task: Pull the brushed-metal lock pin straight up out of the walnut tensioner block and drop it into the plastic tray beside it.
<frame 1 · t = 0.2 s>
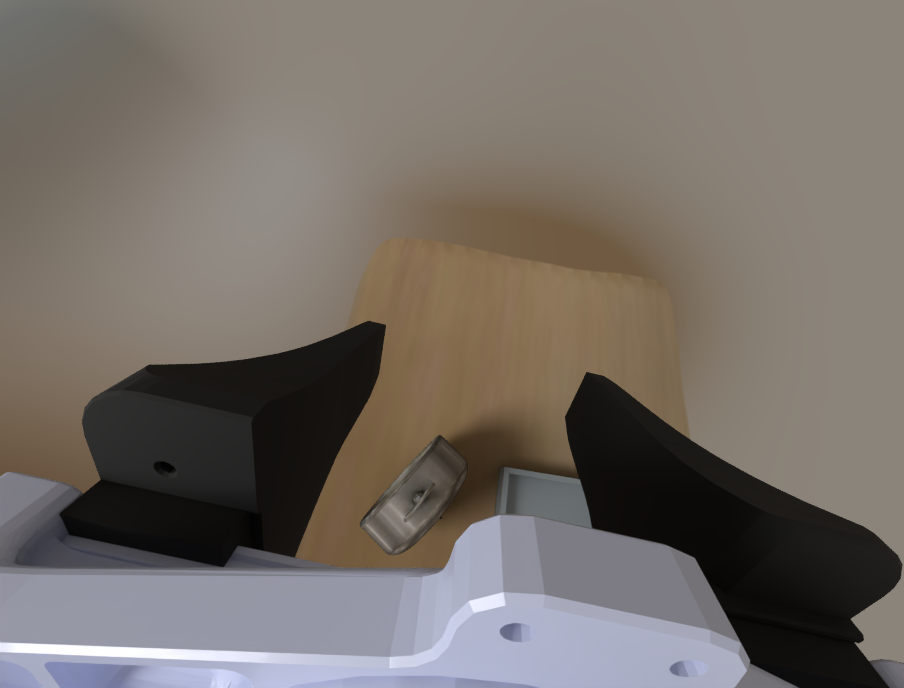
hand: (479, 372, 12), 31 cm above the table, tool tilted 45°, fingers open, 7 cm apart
tray: (545, 525, 39), on the table
alarm clock: (418, 489, 40), on the table
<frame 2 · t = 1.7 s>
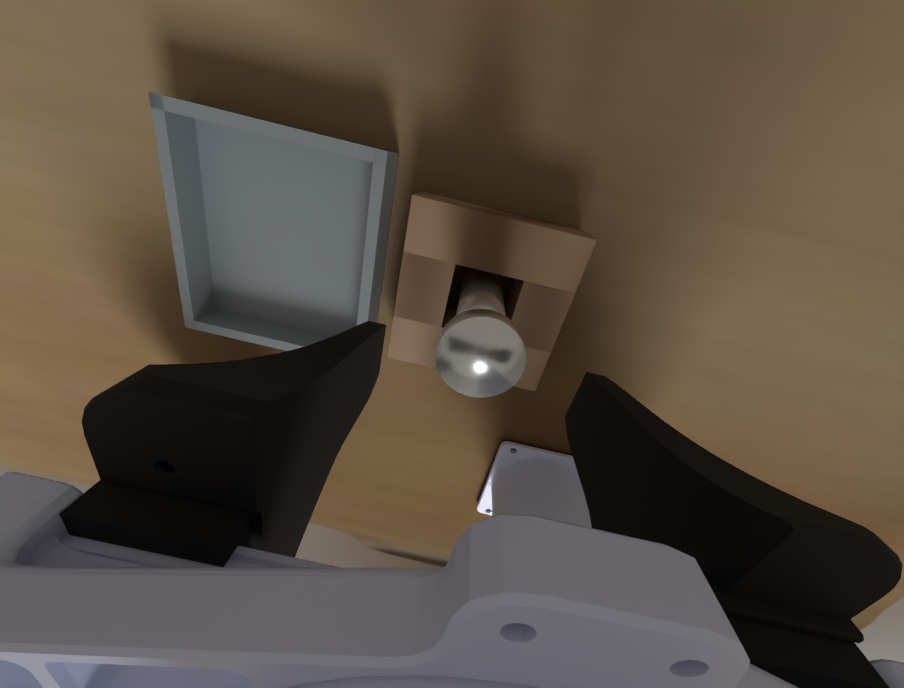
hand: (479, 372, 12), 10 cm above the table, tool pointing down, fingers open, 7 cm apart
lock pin: (480, 315, 17), in the tensioner block
tray: (294, 242, 21), on the table
tensioner block: (481, 287, 21), on the table
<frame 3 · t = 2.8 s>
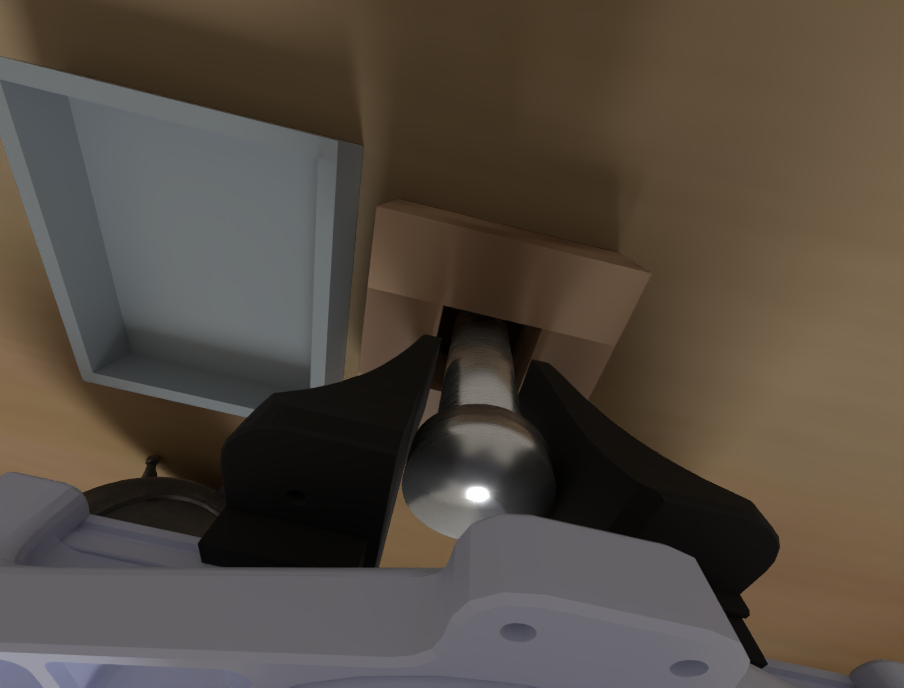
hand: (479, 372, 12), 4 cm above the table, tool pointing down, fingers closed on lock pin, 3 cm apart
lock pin: (479, 381, 12), in the tensioner block, touching gripper
tray: (228, 267, 15), on the table
alarm clock: (225, 484, 22), on the table
tensioner block: (480, 327, 16), on the table
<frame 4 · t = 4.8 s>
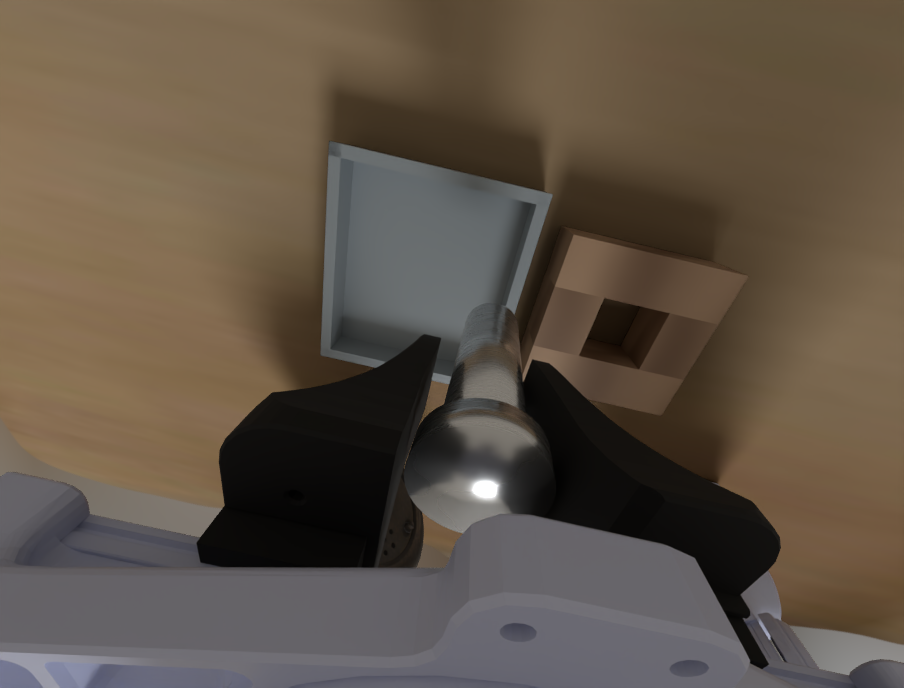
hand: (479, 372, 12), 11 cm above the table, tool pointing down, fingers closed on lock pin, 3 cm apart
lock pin: (486, 379, 12), point 11 cm above the table, touching gripper
tray: (427, 273, 21), on the table
alarm clock: (377, 442, 28), on the table
tensioner block: (605, 315, 22), on the table
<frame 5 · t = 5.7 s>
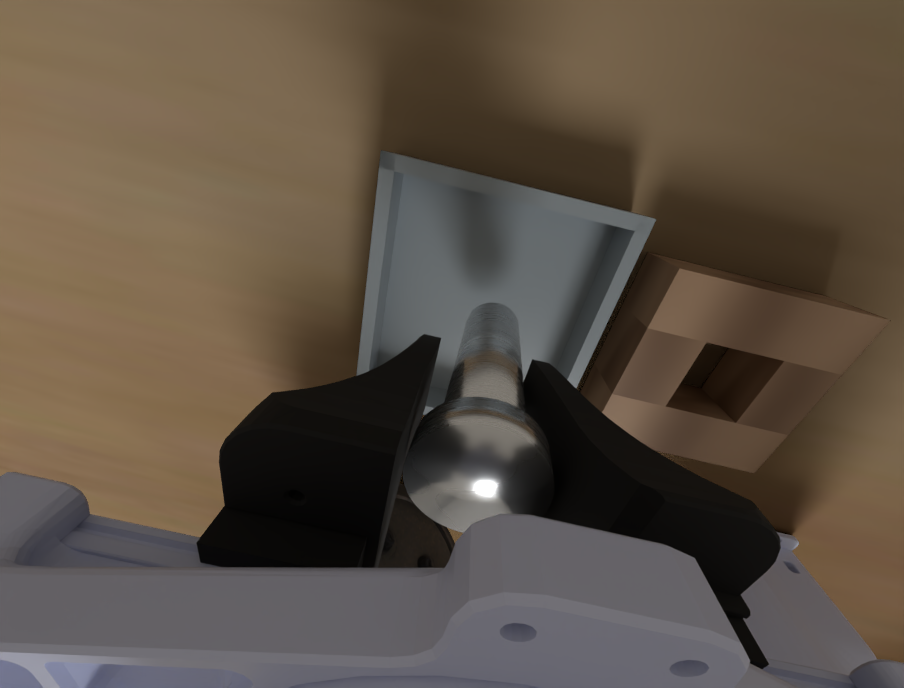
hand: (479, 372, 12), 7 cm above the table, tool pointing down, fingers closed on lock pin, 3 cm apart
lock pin: (486, 379, 12), point 7 cm above the table, touching gripper
tray: (481, 304, 18), on the table
alarm clock: (408, 485, 25), on the table
tensioner block: (687, 353, 19), on the table
when the fingers open (6 cm above the table, at t = 6.5 s): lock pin drops 2 cm, resting on tray.
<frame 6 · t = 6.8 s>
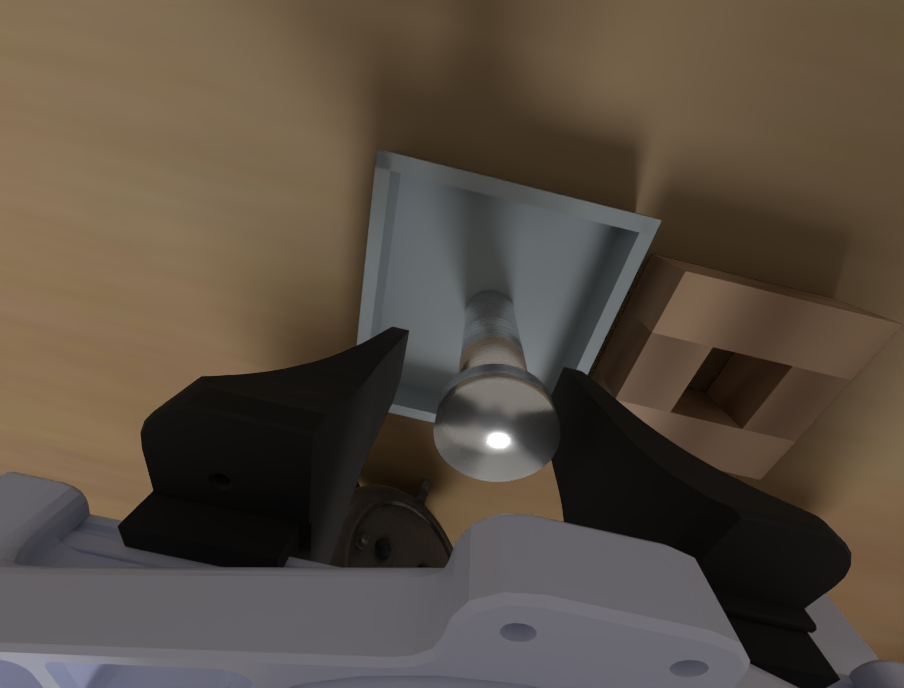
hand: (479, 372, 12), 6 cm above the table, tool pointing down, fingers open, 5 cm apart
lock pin: (491, 356, 13), in the tray, point 5 cm above the table
tray: (480, 307, 18), on the table
alarm clock: (406, 490, 25), on the table
tensioner block: (692, 357, 18), on the table
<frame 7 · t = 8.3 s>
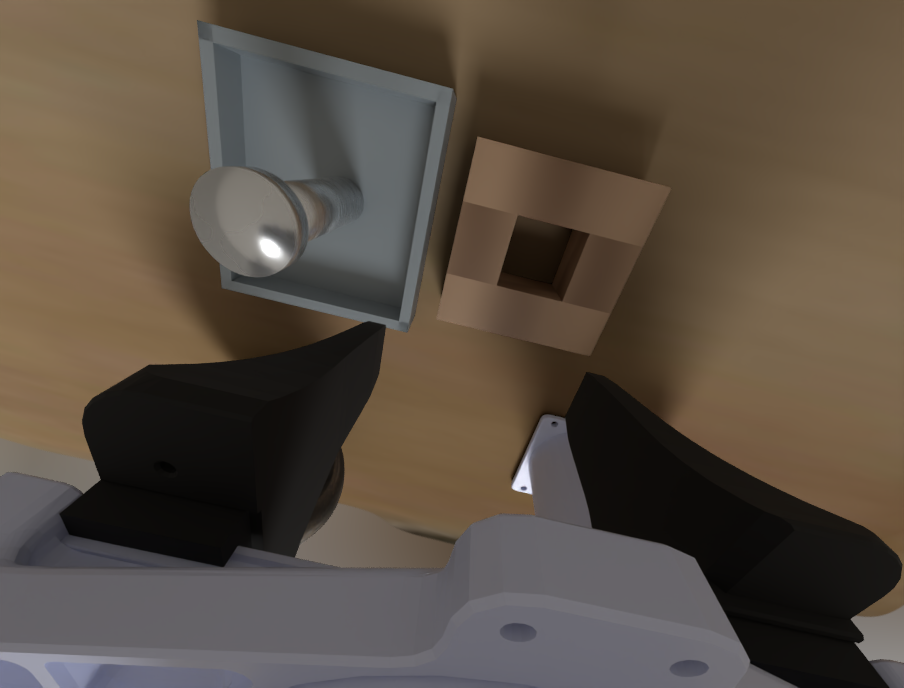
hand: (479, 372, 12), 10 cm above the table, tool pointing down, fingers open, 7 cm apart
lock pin: (305, 209, 15), in the tray, point 5 cm above the table
tray: (338, 198, 20), on the table
alarm clock: (305, 397, 27), on the table
tensioner block: (533, 248, 20), on the table
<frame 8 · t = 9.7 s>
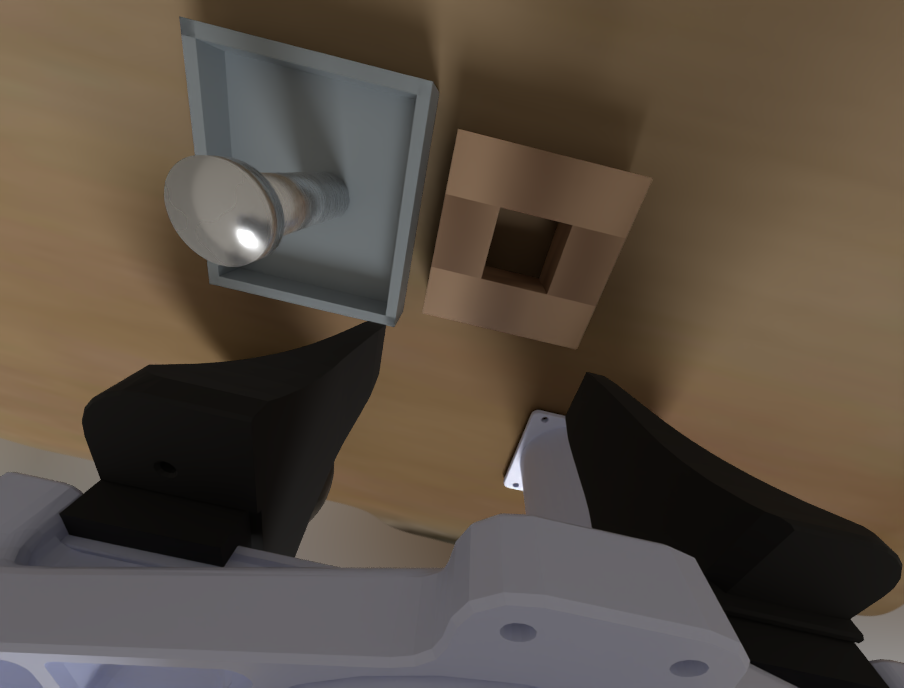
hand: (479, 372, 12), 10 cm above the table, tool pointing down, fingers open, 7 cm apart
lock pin: (287, 202, 15), in the tray, point 5 cm above the table
tray: (324, 194, 20), on the table
alarm clock: (296, 394, 27), on the table
tensioner block: (519, 241, 20), on the table
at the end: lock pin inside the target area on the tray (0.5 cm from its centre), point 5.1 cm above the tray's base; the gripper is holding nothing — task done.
